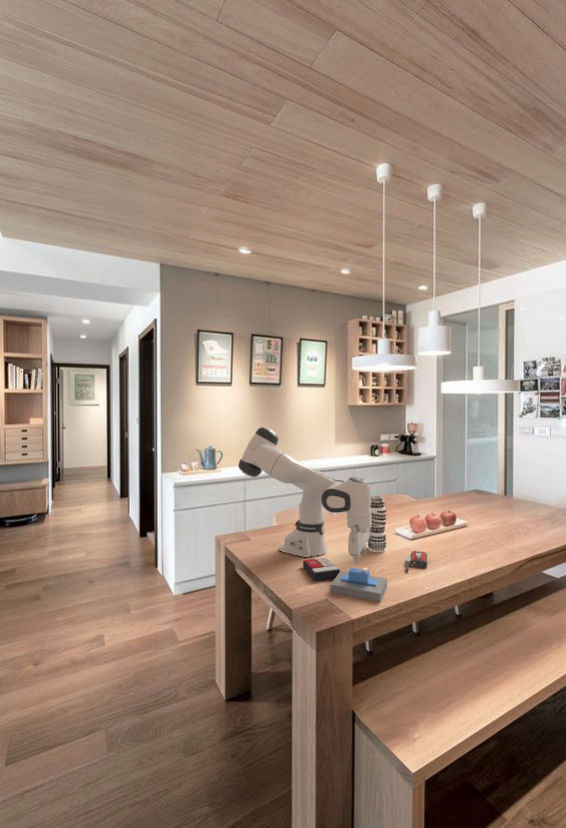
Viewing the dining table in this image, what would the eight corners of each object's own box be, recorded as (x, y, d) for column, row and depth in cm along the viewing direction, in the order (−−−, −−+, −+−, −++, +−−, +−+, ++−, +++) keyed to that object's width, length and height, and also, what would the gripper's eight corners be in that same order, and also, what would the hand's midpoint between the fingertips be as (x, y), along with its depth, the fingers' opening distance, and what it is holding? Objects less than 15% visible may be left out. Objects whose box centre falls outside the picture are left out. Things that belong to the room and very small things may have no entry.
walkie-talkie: (406, 555, 178) (404, 573, 159) (406, 546, 178) (403, 562, 159) (427, 558, 175) (427, 576, 156) (427, 548, 175) (426, 565, 156)
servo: (341, 588, 146) (340, 567, 146) (343, 584, 149) (343, 563, 149) (376, 594, 141) (375, 572, 141) (377, 590, 144) (377, 568, 144)
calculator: (326, 556, 170) (340, 567, 155) (326, 566, 169) (340, 578, 155) (302, 559, 167) (314, 571, 152) (302, 569, 167) (314, 582, 152)
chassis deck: (330, 592, 143) (330, 584, 143) (340, 578, 155) (340, 570, 155) (380, 602, 135) (380, 593, 135) (387, 586, 147) (386, 578, 147)
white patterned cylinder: (387, 546, 189) (386, 495, 189) (386, 553, 180) (386, 499, 180) (367, 544, 192) (367, 494, 191) (366, 551, 183) (365, 498, 182)
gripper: (361, 531, 134) (362, 571, 134) (373, 515, 153) (373, 550, 153) (343, 529, 137) (344, 568, 137) (357, 514, 155) (357, 548, 156)
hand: (359, 558), depth 145 cm, fingers open, 8 cm apart
